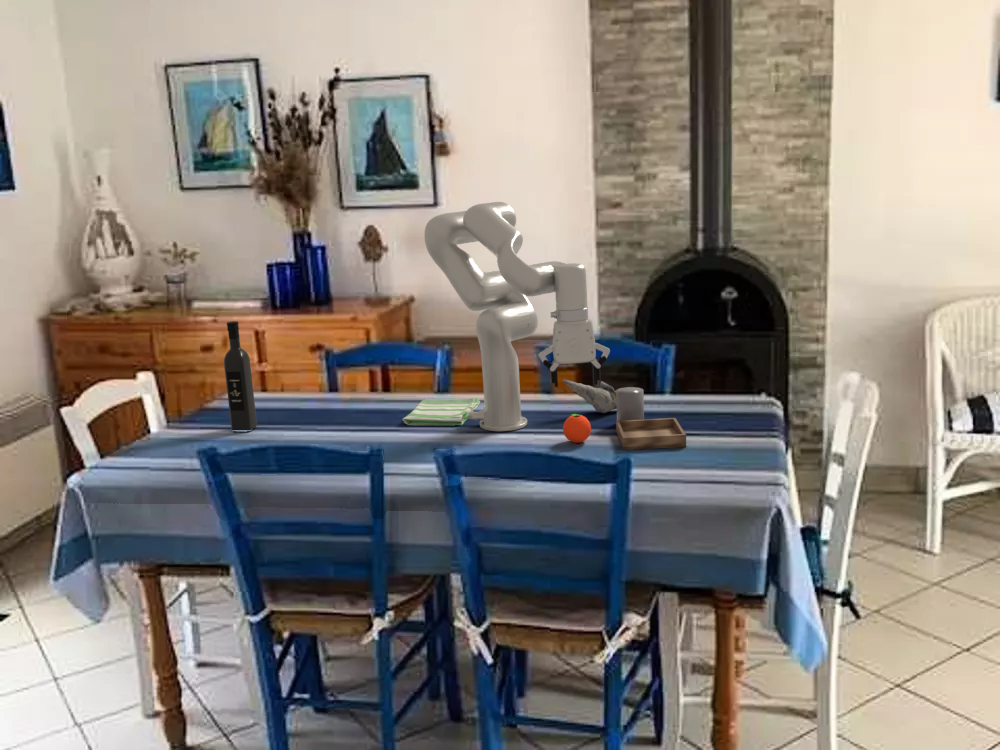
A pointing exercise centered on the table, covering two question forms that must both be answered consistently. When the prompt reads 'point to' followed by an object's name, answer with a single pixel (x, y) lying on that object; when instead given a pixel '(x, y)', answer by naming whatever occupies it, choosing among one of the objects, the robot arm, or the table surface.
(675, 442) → the walnut tray
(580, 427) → the clementine
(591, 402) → the seashell
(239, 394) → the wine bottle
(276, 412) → the table surface
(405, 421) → the dish towel
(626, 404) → the grey rounded cylinder
